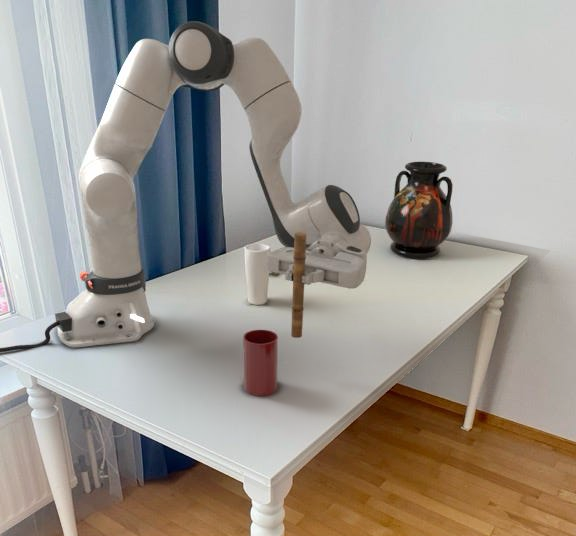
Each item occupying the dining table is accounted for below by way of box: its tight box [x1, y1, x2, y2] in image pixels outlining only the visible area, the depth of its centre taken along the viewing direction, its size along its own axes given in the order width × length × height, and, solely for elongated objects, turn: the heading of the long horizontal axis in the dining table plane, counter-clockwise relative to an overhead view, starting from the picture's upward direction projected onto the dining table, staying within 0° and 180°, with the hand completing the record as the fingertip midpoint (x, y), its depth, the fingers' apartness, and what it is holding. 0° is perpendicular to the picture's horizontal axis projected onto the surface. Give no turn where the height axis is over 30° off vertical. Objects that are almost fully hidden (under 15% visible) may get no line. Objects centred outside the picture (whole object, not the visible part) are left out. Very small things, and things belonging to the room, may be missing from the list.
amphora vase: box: [384, 161, 453, 260], centre depth 194 cm, size 22×22×28 cm
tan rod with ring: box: [290, 232, 306, 339], centre depth 117 cm, size 2×2×21 cm
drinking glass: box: [243, 243, 271, 306], centre depth 158 cm, size 7×7×15 cm
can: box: [242, 329, 279, 397], centre depth 120 cm, size 7×7×12 cm
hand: (296, 278), depth 115 cm, fingers closed on tan rod with ring, 2 cm apart
